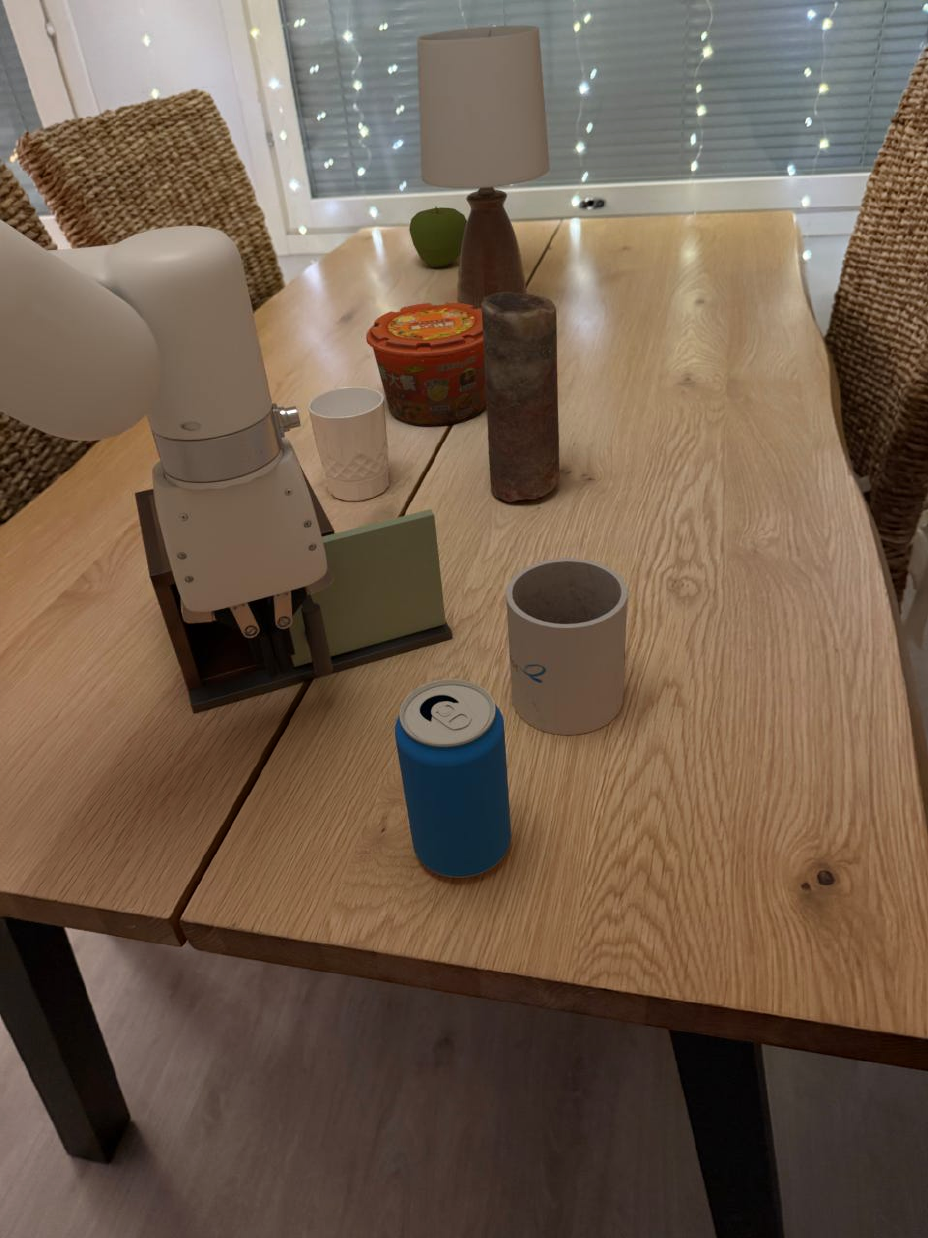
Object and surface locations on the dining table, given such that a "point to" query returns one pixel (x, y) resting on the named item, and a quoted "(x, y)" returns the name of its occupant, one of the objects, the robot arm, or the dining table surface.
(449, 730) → the beverage can
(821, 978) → the dining table surface
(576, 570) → the mug
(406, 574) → the door
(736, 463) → the dining table surface
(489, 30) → the lamp
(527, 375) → the candle
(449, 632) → the cabinet
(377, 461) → the white cup
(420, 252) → the apple
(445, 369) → the food container
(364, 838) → the dining table surface
